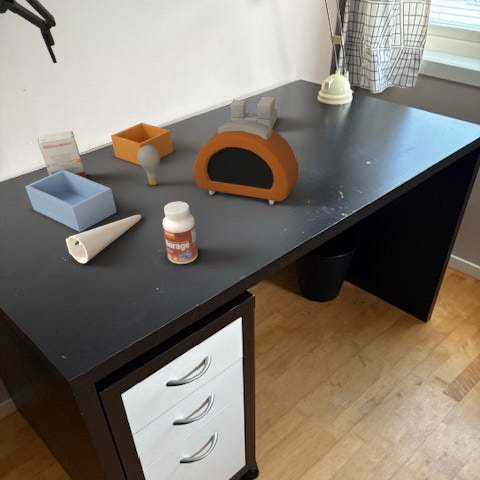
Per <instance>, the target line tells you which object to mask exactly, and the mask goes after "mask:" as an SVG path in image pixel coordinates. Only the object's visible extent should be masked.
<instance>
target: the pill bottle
mask: <svg viewBox="0 0 480 480" xmlns="http://www.w3.org/2000/svg"><path fill="white" fill-rule="evenodd" d="M163 210H164V216H165V217H164V218H163V219H162V230H163V236H164V242H165V249H166V255H167V259H168V260H169V261H170V262H171V263H173V264H175V265H176V264H177V265H184V264H189V263H192V262H194V261H195V260H196V259H197V257H198V256H199V255H198V254H199V252H198V251H199V250H198V240H197V233H196V232H197V231H196V221H195V218H194V216H193V215H192V214H191V211H190V206H189V204H188V203H187V202H184V201H179V200H177V201H171V202H168V203H167V204H166V205H164V208H163Z"/></svg>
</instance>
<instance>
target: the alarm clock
mask: <svg viewBox="0 0 480 480" xmlns="http://www.w3.org/2000/svg"><path fill="white" fill-rule="evenodd" d="M193 173H194V179H195V183H196V185H197V186H198V187H199V188H200V189H201V190H204V191H208V193H209V195H210V196H212V195H214V194H215V193H216V192H217V193H224V194H230V195H237V196H242V197H243V196H244V197H249V198H255V199H261V200H262V199H263V200H268V203H269V205H274V204H275V202H282V201H284V200H286V199H287V198H288V197H289V195H290V193H291V192H292V191H293V189H294V188H295V186H296V184H297V181H298V177H299V163H298V160H297V158H296V155H295V152H294V151H293V148H292V147H291V145H290V143H289V142H288V141H287V140H286V139H285V138H284V137H283V135H281V134H280V133H278V132H277V131H276V130H274V129H273V128H272V129H271V128H270V127H268V126H266V125H264V124H261V123H258V122H255V121H250V120H234V121H231V120H229V121H225V122H224V123H222V124H221V125H219V127H218V128H217V132H216V133H215V134H214V135H213V136H212V137H211V138H210V139H208V141H206V142H205V143H204V144H203V145H202V147H201V148H200V151H199V152H198V154H197V156H196V158H195V161H194V165H193Z"/></svg>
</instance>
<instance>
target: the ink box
mask: <svg viewBox="0 0 480 480" xmlns="http://www.w3.org/2000/svg"><path fill="white" fill-rule="evenodd" d="M37 144H38V147H39V150H40V153H41V155H42V159H43V161H44V164H45V167H46V170H47V173H48V176H50V175H52V174H54V173H57V172H59V171H61V170H65V171H68V172H71V173H73V174H76V175H78V176H81V177H83V178H86V179H87V175H86V172H85V168H84V164H83V161H82V158H81V154H80V151H79V148H78V144H77V141H76V138H75V135H74V132H73V130H68V131H61V132H54V133H49V134H42V135H38V136H37Z"/></svg>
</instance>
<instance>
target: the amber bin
mask: <svg viewBox="0 0 480 480" xmlns="http://www.w3.org/2000/svg"><path fill="white" fill-rule="evenodd" d="M110 139H111V143H112V147H113V152H114V157H115V158H117V159H121V160H124V161H127V162H130V163H133V164H135V165H137V166H138V165H139V166H141V165H140V164H139V162H138V157H137V155H138V151H139V150H140V148H142V147H143V146H146V145H151V146H153V147H155V148H156V149H157V150H158V151H159V153H160V159H162V158H164V157H165V156H168V155H170V154H172V153H174V147H173V140H172V131H171V130H170V129H165V128H162V127H158V126H155V125H152V124H148V123H145V122H140V123H137V124H135V125H133V126H130V127H128V128H125V129H123V130H121V131H119V132H116V133H113V134H112V135H110Z"/></svg>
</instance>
